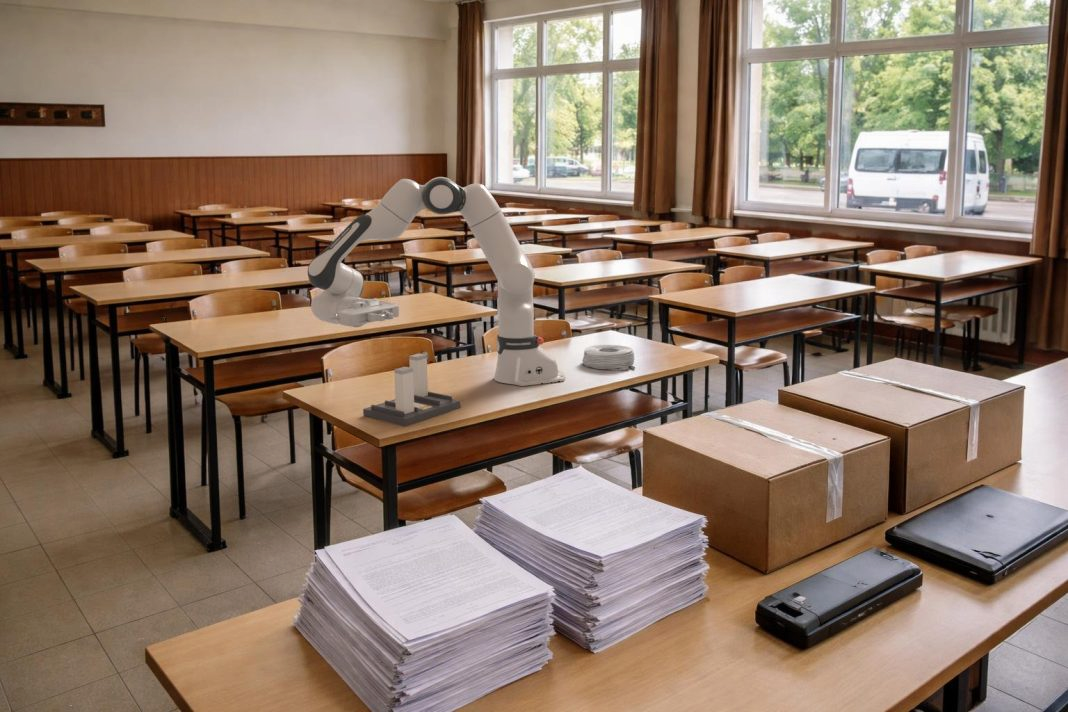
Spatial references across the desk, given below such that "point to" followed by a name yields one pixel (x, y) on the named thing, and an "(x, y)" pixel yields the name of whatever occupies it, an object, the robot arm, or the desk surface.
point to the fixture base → (422, 409)
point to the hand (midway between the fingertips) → (387, 317)
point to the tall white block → (419, 374)
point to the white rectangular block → (404, 389)
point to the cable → (609, 357)
